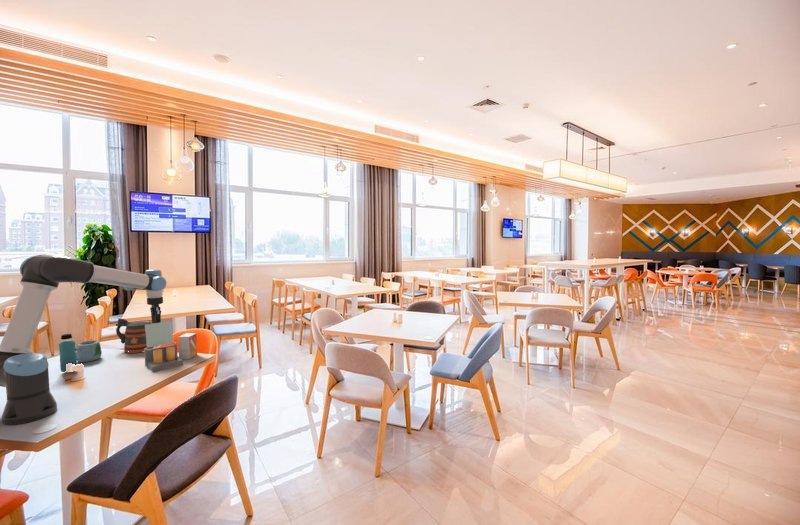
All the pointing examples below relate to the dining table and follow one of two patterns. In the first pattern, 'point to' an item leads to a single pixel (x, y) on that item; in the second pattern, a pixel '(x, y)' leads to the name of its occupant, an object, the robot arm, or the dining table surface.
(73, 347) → the beverage bottle
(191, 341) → the small box
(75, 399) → the dining table surface
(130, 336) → the beer stein
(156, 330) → the lid
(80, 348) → the mug
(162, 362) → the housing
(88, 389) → the dining table surface
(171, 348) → the peg
